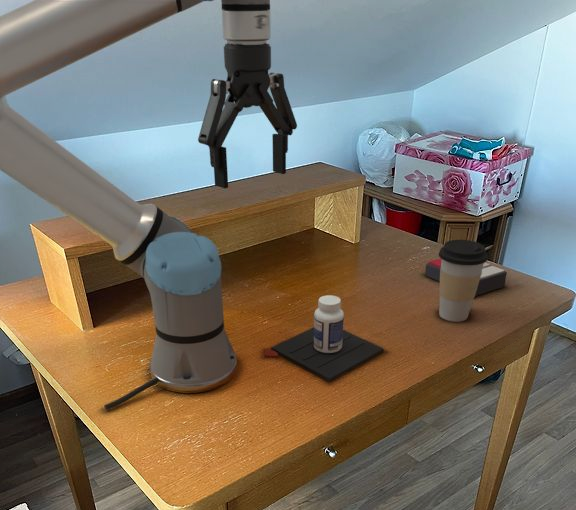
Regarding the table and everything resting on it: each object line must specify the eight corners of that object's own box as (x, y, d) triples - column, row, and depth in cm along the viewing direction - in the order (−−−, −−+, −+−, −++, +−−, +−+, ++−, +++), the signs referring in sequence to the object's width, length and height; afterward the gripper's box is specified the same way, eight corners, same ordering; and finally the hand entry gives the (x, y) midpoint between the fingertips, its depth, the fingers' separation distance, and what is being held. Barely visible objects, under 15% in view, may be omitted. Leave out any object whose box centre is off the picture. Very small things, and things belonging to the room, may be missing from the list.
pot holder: (319, 387, 103) (320, 383, 102) (258, 353, 112) (258, 349, 111) (383, 352, 113) (384, 347, 112) (322, 323, 122) (322, 319, 122)
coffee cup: (477, 327, 121) (491, 257, 112) (429, 323, 122) (440, 253, 114) (474, 307, 128) (487, 239, 120) (430, 303, 130) (439, 236, 122)
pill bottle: (343, 341, 114) (346, 294, 109) (340, 355, 110) (343, 307, 104) (315, 338, 115) (317, 292, 109) (311, 352, 110) (312, 304, 105)
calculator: (458, 251, 146) (508, 268, 135) (456, 268, 148) (505, 286, 137) (425, 260, 141) (474, 279, 130) (423, 277, 143) (471, 297, 132)
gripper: (197, 48, 85) (208, 197, 97) (318, 39, 100) (315, 170, 111) (167, 45, 90) (181, 188, 102) (287, 37, 104) (287, 163, 116)
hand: (251, 179), depth 107 cm, fingers open, 13 cm apart
